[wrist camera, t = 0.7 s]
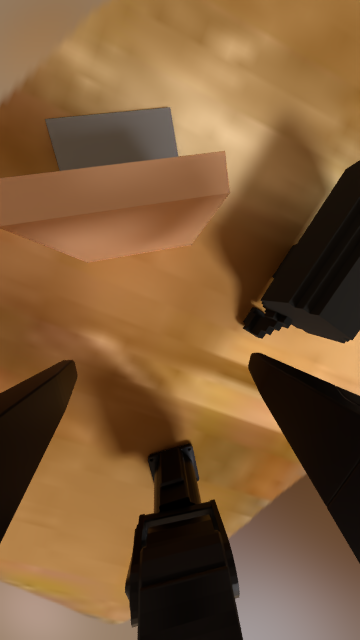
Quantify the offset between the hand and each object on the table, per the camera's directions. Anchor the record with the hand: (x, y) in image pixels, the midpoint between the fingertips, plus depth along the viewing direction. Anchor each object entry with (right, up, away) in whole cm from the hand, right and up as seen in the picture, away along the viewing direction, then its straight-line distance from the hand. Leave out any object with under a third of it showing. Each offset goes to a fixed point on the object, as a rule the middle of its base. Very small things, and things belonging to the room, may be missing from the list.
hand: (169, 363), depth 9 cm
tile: (-4, +11, +11) cm, 16 cm away
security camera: (+14, +9, +14) cm, 22 cm away
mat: (-5, +18, +9) cm, 21 cm away
